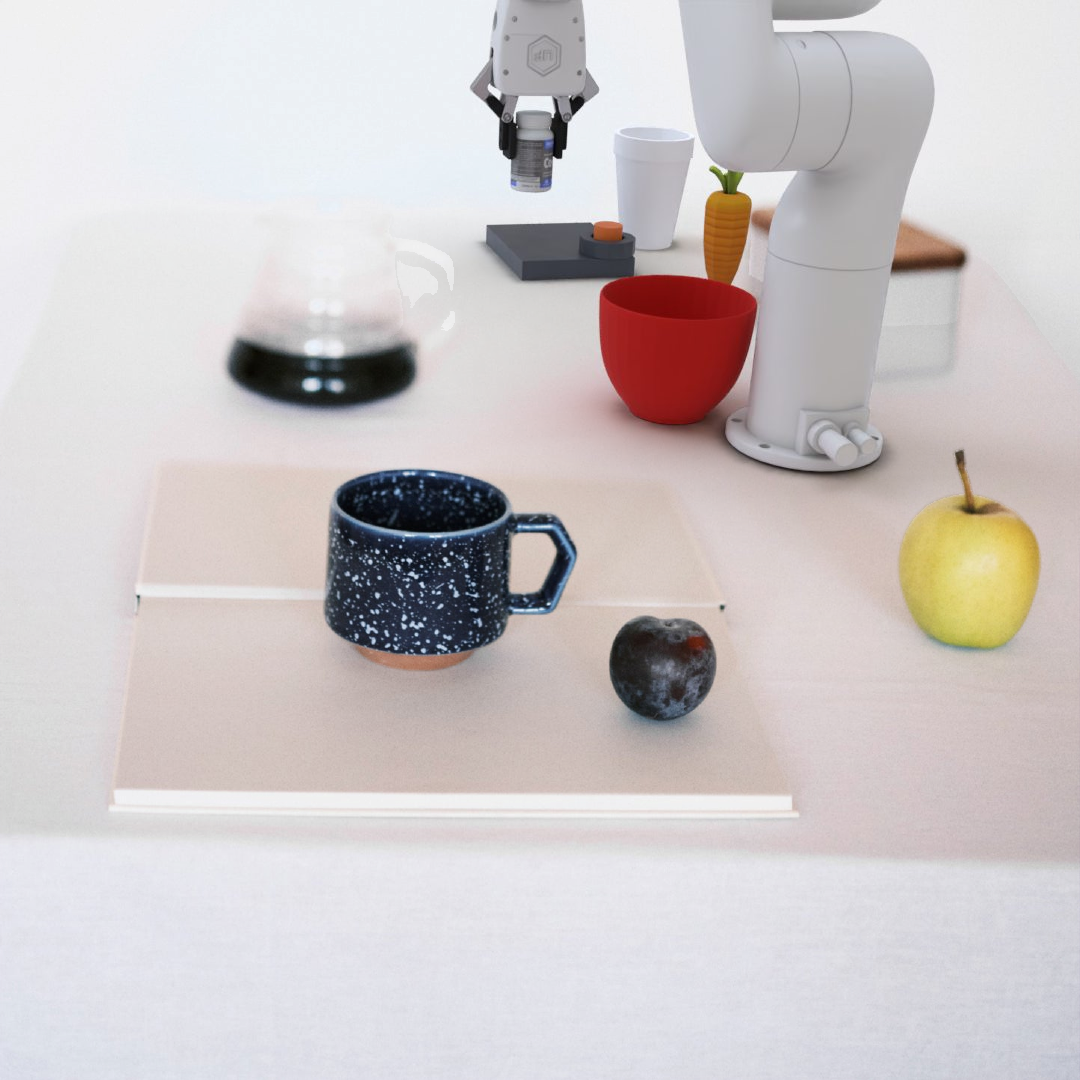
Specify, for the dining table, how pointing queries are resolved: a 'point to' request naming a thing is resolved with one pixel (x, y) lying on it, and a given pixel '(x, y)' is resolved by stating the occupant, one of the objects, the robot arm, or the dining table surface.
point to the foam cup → (651, 181)
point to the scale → (561, 251)
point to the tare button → (608, 231)
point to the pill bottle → (533, 152)
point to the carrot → (725, 227)
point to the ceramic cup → (674, 343)
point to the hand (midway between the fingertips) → (532, 155)
